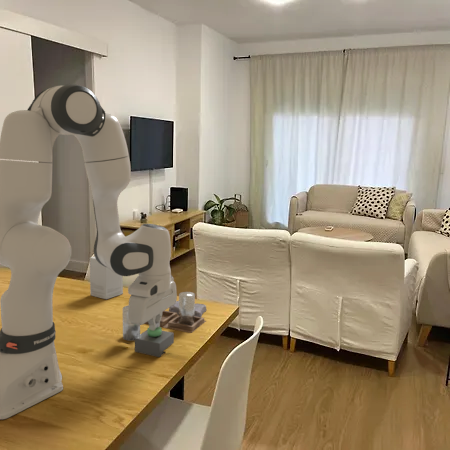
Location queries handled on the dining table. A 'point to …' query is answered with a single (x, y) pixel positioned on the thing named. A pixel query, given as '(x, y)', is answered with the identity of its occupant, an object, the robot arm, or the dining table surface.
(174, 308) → the stone block
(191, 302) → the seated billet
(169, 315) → the brown wooden tray
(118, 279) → the supplement box
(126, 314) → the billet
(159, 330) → the button
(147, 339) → the console
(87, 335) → the dining table surface
